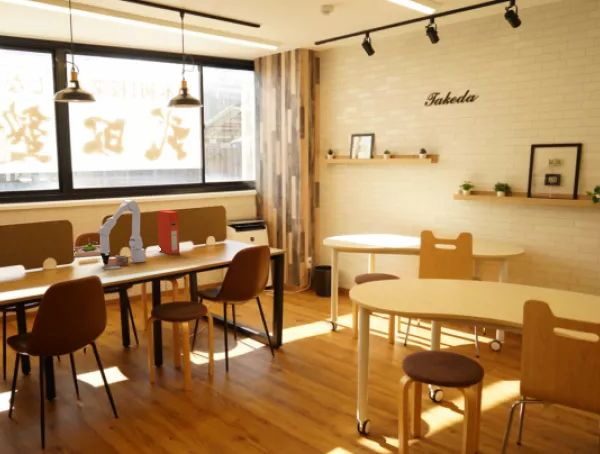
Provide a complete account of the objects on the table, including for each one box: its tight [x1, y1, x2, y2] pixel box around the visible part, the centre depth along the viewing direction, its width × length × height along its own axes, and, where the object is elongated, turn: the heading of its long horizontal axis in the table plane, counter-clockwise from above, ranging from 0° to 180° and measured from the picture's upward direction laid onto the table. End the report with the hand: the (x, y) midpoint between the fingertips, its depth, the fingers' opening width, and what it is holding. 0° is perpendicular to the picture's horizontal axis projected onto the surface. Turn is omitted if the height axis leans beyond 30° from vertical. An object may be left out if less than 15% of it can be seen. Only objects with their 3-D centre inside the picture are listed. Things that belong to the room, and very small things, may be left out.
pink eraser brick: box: [103, 256, 117, 266], centre depth 367 cm, size 10×3×5 cm, turn 118°
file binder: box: [157, 209, 180, 256], centre depth 412 cm, size 8×17×32 cm, turn 44°
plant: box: [75, 238, 101, 253], centre depth 410 cm, size 20×20×11 cm
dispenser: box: [115, 254, 129, 267], centre depth 370 cm, size 7×6×6 cm
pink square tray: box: [73, 244, 102, 258], centre depth 410 cm, size 25×25×3 cm
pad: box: [102, 265, 122, 271], centre depth 360 cm, size 10×10×1 cm
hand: (105, 263), depth 366 cm, fingers closed on pink eraser brick, 3 cm apart
